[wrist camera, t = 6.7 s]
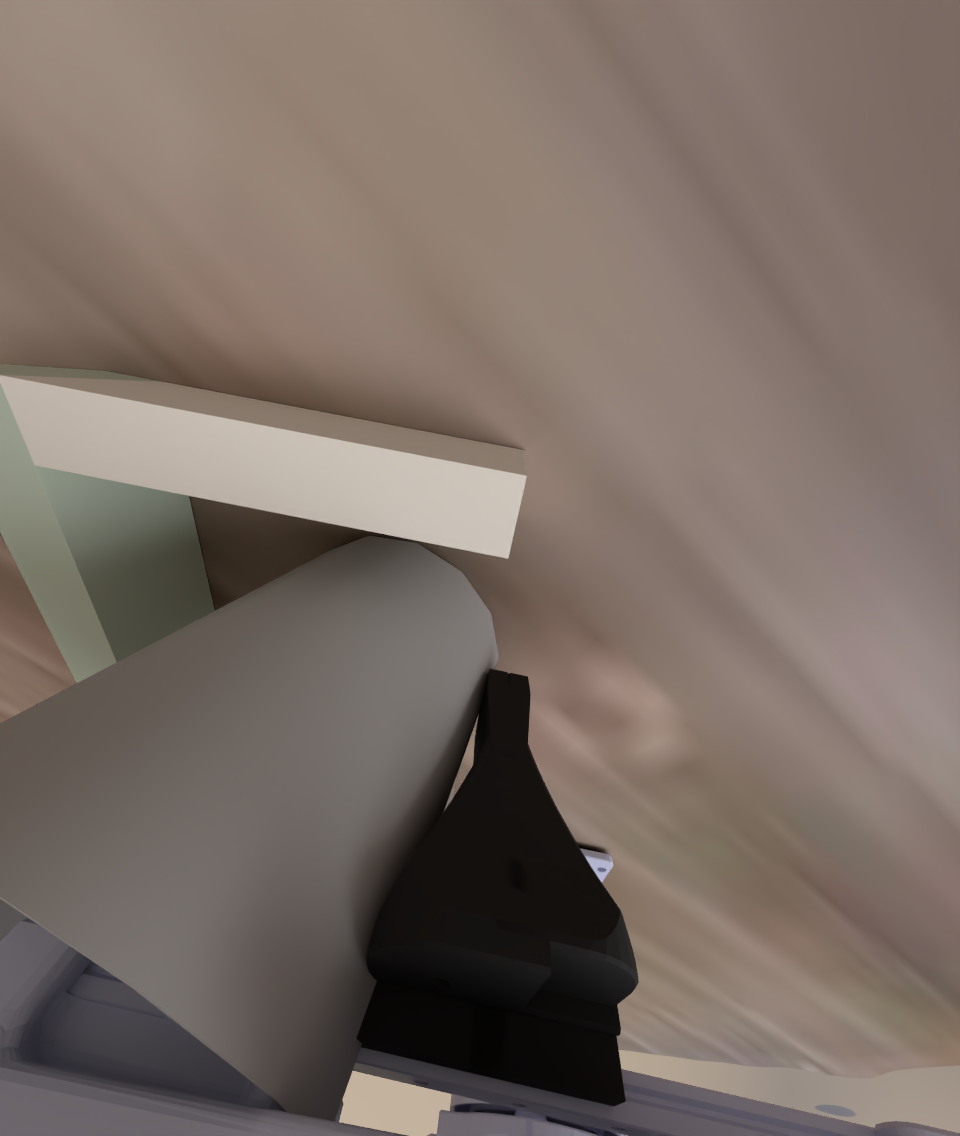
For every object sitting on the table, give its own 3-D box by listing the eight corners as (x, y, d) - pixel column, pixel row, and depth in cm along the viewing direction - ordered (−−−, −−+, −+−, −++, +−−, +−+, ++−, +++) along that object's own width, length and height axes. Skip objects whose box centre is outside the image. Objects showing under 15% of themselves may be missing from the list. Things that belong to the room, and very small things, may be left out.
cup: (274, 593, 15) (-167, 845, 6) (406, 492, 12) (-182, 740, 3) (391, 733, 17) (173, 1091, 8) (538, 681, 13) (446, 1232, 4)
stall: (457, 762, 18) (442, 851, 15) (202, 708, 19) (126, 782, 15) (525, 450, 11) (527, 476, 7) (104, 370, 11) (-88, 358, 8)
